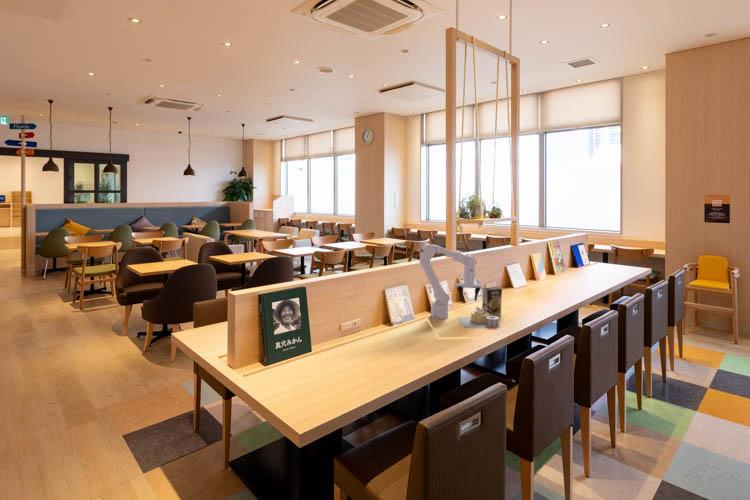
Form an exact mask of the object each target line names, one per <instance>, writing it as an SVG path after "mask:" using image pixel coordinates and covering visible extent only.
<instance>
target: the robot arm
mask: <svg viewBox="0 0 750 500" xmlns="http://www.w3.org/2000/svg"><path fill="white" fill-rule="evenodd" d="M439 254H442V255H445V256H448V257H451V259H452V261H455V262H457V263H460V264H464V267H463V271H464V273H463V275H464V277H463V282H462V283H458V282H457V283H455V287H456V288H457V290H458V291H457V292H458V293H459V296H460V301H463V300H464V288H465V289H466V288H467V289H468V288H469V289H474V302H477V299H478V295H479V293H480V290H483V284H478V283H475V270H476V269H475V267H476V266H477V259H476V258H475V257H474V256H472V255H470V254H469V253H464V252H462V250H454V251H452V250H449V249H447V248H445V247H442V246H440V245H436V244H433V243H429V242H424V243H423V244H422V245H421V246H420V248H419V264H420V266H421V268H422V269H423V272H424V274H425V276H426V278H427V279H428V282H429V284H430V285H431V288H432V292H433V297H434V300H435V302H434V303H431V304H430V316H431V318H432V320H433V319H439V320H440V319H441V320H442V319H443V320H445V319H448V317H449V302H450V296H449V294H448V293H446V290H445V289H444V288H443V286H442V285H441V283H440V280H439V279H438V277H437V275H436V273H435V271H434V268H433V266H432V265H431V263H430V262H431V260H432V258H433V257H434V256H435V255H439Z"/></svg>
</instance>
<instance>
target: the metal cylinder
mask: <svg viewBox="0 0 750 500" xmlns="http://www.w3.org/2000/svg"><path fill="white" fill-rule="evenodd" d="M475 308H476V309H475V311H476V314H484V308H483V307H482V306H477V307H475Z"/></svg>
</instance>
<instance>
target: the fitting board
mask: <svg viewBox="0 0 750 500" xmlns="http://www.w3.org/2000/svg"><path fill="white" fill-rule="evenodd" d="M470 316H471V317H469V316H467V317H462V316H461V317H456V319H457V320H458V322H459V323H460V324H461V325H462V327H463V328H464V329H494V328H495V329H497V328H501V329H502V328H504V327H503V326H502V325H501V324H500V316H499V317H498V316H497V315H493V316H490V313H488V312H485V311H484V314H476V310H473V311H471V312H470Z"/></svg>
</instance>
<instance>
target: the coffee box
mask: <svg viewBox="0 0 750 500" xmlns="http://www.w3.org/2000/svg"><path fill="white" fill-rule="evenodd" d="M502 292H503V289H502V288H499V287H497V286H495V287H493V286H492V287H482V305H481V307H483V308H484V311H485V312H488V313H490V316H497V317H499V318H500V317H501V316H502V300H503V299H502V296H503V295H502V294H503V293H502Z"/></svg>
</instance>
